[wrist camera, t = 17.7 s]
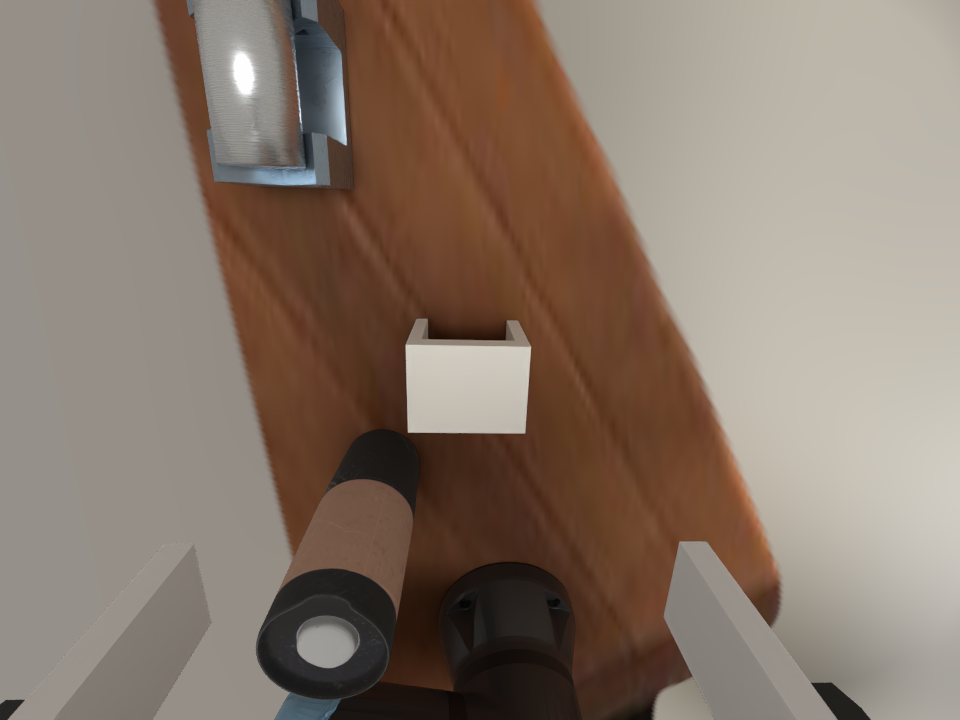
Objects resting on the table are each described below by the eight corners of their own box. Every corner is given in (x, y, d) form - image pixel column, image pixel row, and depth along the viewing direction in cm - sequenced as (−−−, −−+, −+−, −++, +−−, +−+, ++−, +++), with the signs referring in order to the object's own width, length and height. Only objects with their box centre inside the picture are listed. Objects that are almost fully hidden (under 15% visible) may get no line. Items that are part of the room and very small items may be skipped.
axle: (322, 169, 29) (266, 161, 24) (260, 169, 30) (195, 161, 26) (307, -17, 26) (239, -66, 21) (238, -8, 27) (161, -52, 23)
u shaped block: (513, 392, 42) (525, 433, 34) (417, 391, 41) (407, 432, 34) (517, 320, 39) (530, 346, 32) (416, 318, 39) (405, 344, 31)
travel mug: (379, 507, 45) (319, 721, 26) (327, 455, 43) (222, 647, 24) (438, 467, 44) (419, 661, 25) (388, 412, 42) (327, 579, 23)
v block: (354, 189, 35) (327, 184, 28) (259, 186, 35) (208, 180, 28) (343, 10, 32) (309, -48, 24) (237, 4, 31) (171, -56, 24)
